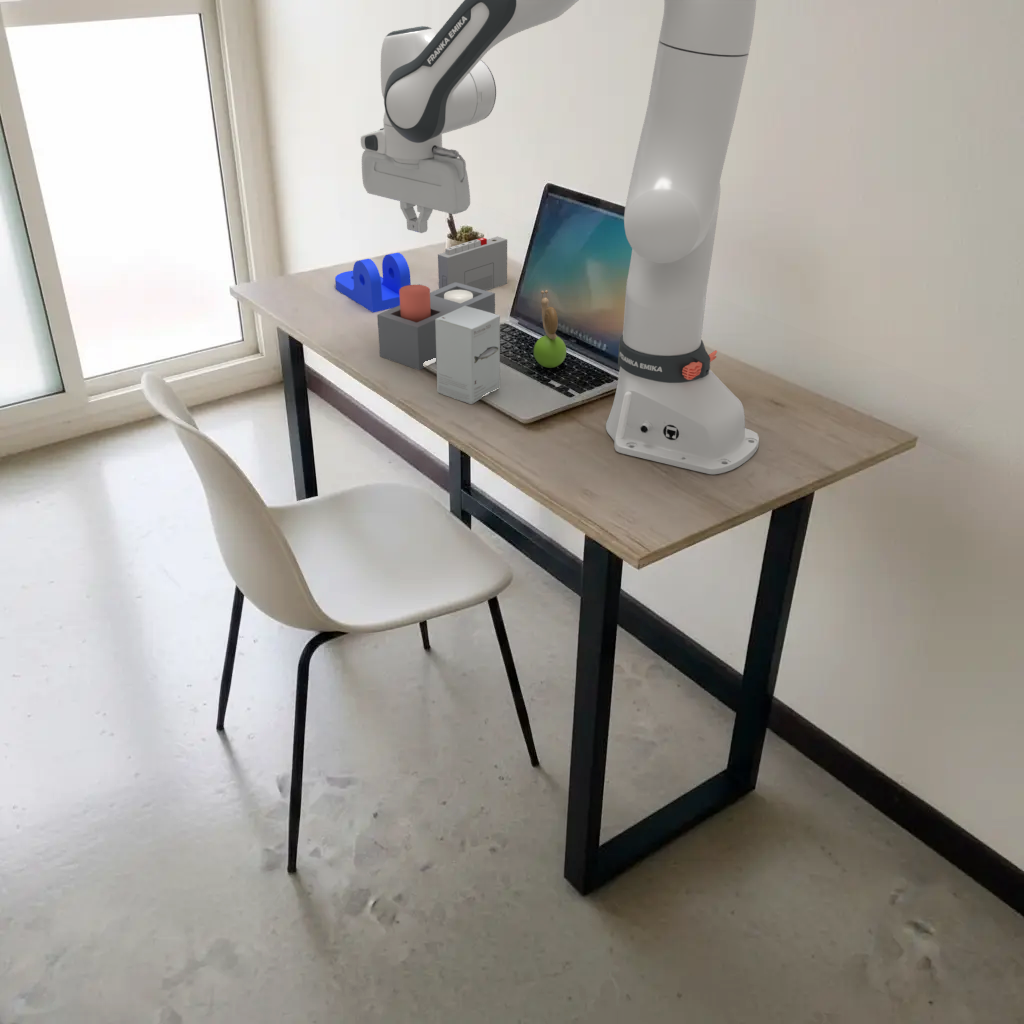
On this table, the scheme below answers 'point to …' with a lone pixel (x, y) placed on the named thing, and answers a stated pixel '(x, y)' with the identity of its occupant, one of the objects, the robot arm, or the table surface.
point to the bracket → (375, 282)
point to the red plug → (415, 302)
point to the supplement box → (467, 353)
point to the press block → (423, 326)
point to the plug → (458, 295)
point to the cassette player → (475, 264)
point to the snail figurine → (549, 339)
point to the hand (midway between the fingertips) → (417, 230)
